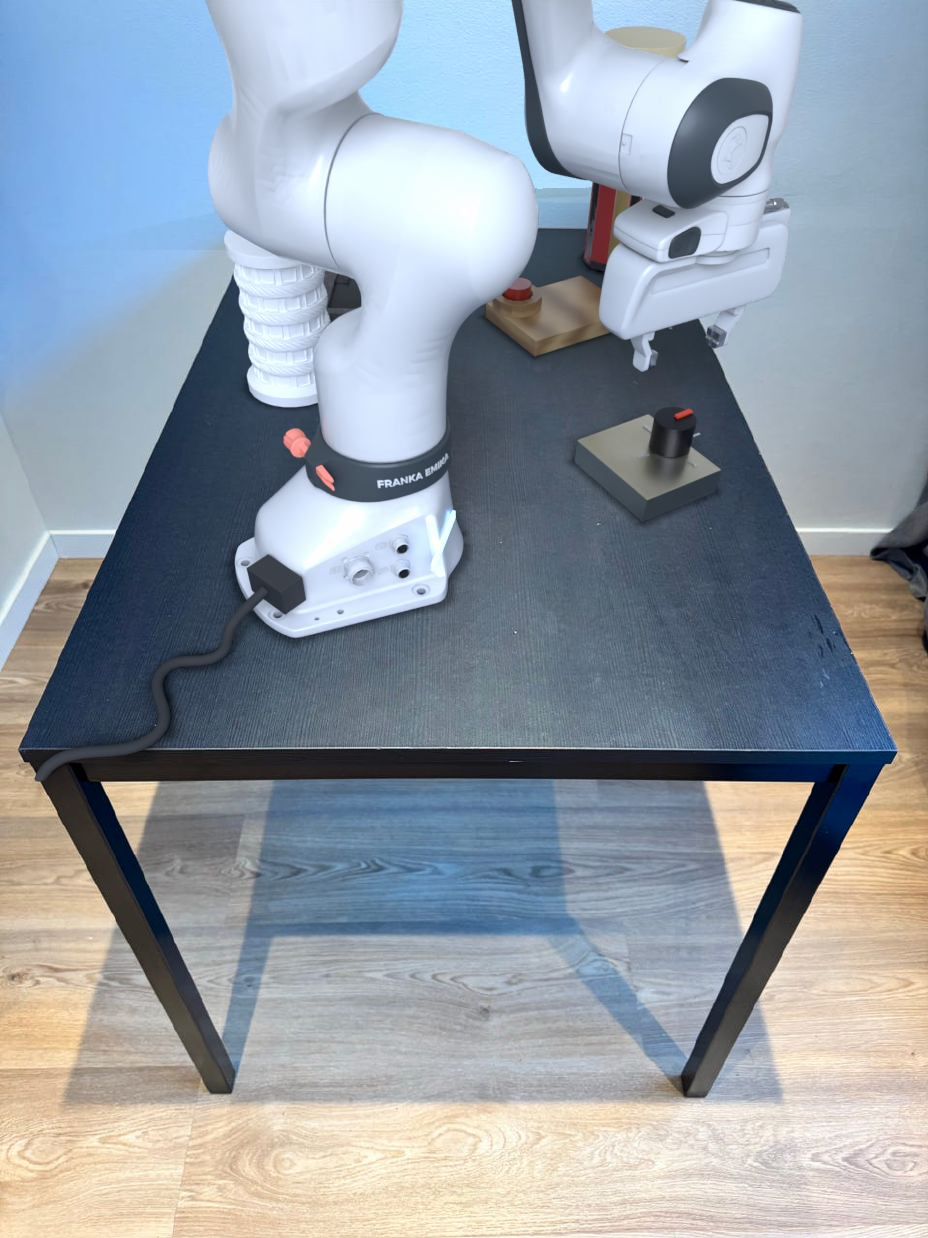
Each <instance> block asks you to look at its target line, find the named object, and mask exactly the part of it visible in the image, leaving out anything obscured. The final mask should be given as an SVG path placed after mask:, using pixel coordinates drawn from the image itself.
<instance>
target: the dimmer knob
mask: <svg viewBox="0 0 928 1238" xmlns="http://www.w3.org/2000/svg"><path fill="white" fill-rule="evenodd" d="M653 418H654V421H653V426H652V431H651V436H650V441H649V445H650V448H651V449H652V450H653V451H654V452H655V453H657V454H658V455H661V456H664V457H669V458H677V457H682V456H684V455H686V454H687V453H688V452H689V451H690V447H692V442H693V440H694V438H693V435H694V434H695V430H696V426H697V422H698V421H697V417H696V416H695V414H694V413H693V410H692V409H691V408H687V409H685V408H682V407H678V406H667V407H666V406H665V407H662V408H660V409H658V410H657V411H656V412H655V414H654V416H653Z"/></svg>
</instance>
